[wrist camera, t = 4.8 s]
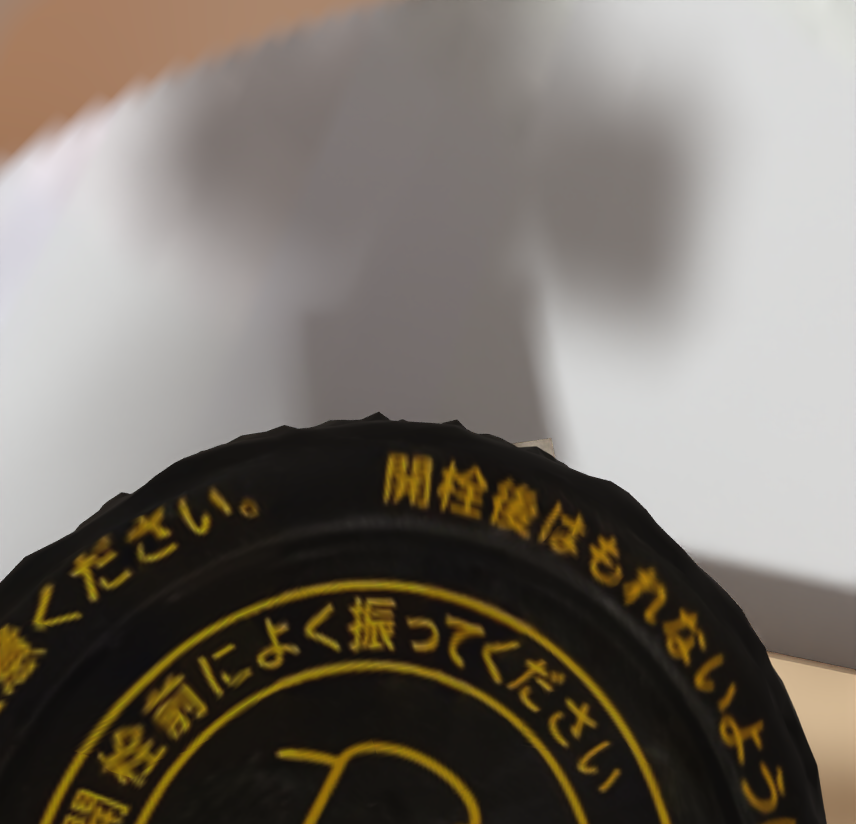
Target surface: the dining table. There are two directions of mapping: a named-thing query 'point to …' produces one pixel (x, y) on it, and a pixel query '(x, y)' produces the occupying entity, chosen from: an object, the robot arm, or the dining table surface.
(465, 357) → the dining table surface
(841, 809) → the foundation
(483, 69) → the dining table surface
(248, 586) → the condiment
